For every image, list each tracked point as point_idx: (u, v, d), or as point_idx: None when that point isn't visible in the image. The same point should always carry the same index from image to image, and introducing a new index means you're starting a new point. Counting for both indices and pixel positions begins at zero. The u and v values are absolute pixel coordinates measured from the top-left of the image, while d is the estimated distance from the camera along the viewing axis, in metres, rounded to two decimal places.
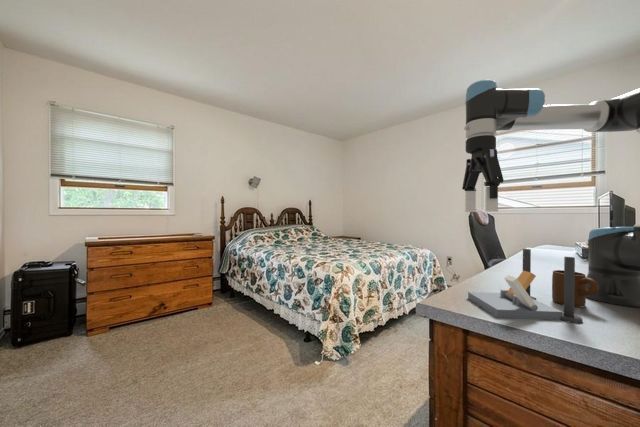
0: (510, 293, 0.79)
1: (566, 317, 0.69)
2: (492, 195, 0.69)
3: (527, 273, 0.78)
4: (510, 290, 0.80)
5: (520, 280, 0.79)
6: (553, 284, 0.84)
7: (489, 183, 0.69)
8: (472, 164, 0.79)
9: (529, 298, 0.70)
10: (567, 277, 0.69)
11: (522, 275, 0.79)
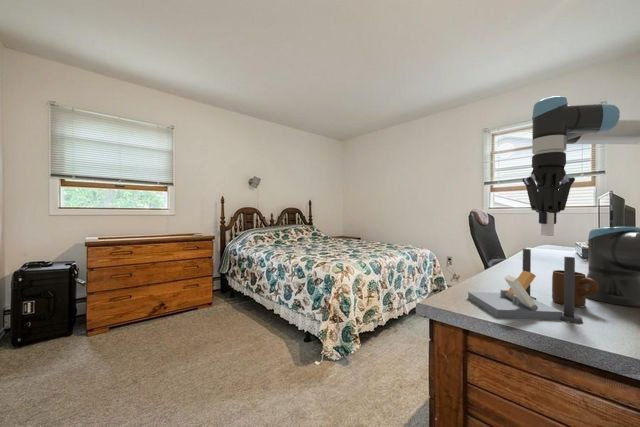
0: (510, 293, 0.79)
1: (566, 317, 0.69)
2: (539, 221, 0.78)
3: (527, 273, 0.78)
4: (510, 290, 0.80)
5: (520, 280, 0.79)
6: (553, 284, 0.84)
7: (538, 211, 0.79)
8: None
9: (529, 298, 0.70)
10: (567, 277, 0.69)
11: (522, 275, 0.79)
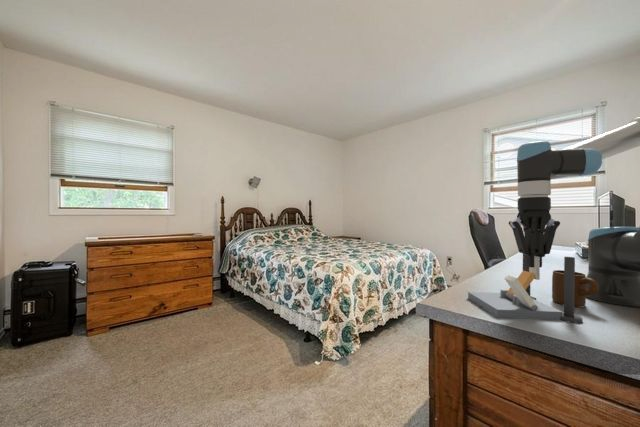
0: (510, 293, 0.79)
1: (566, 317, 0.69)
2: (527, 264, 0.79)
3: (527, 273, 0.78)
4: (510, 290, 0.80)
5: (520, 280, 0.79)
6: (553, 284, 0.84)
7: (525, 254, 0.79)
8: None
9: (529, 298, 0.70)
10: (567, 277, 0.69)
11: (522, 275, 0.79)
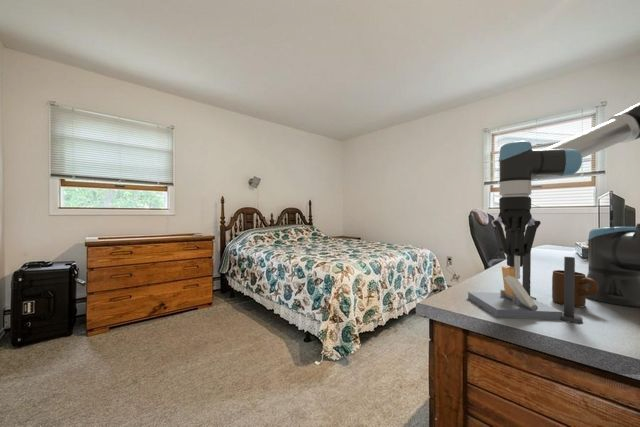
0: (508, 294, 0.79)
1: (566, 317, 0.69)
2: (507, 263, 0.79)
3: (506, 269, 0.79)
4: (506, 291, 0.80)
5: None
6: (553, 284, 0.84)
7: (506, 253, 0.80)
8: None
9: (529, 298, 0.70)
10: (567, 277, 0.69)
11: (504, 272, 0.80)
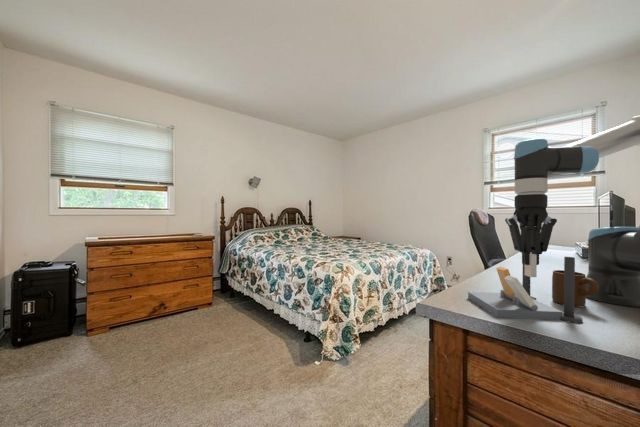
0: (508, 295, 0.79)
1: (566, 317, 0.69)
2: (522, 261, 0.78)
3: (501, 271, 0.79)
4: (505, 291, 0.80)
5: (503, 279, 0.79)
6: (553, 284, 0.84)
7: (521, 251, 0.79)
8: None
9: (529, 298, 0.70)
10: (567, 277, 0.69)
11: (499, 273, 0.80)
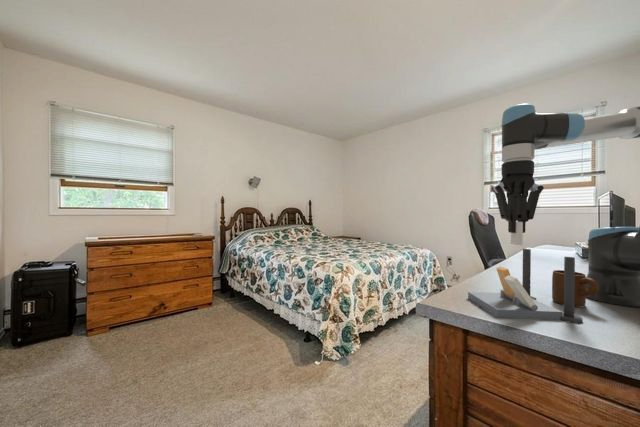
0: (508, 295, 0.79)
1: (566, 317, 0.69)
2: (508, 229, 0.77)
3: (501, 271, 0.79)
4: (505, 291, 0.80)
5: (503, 279, 0.79)
6: (553, 284, 0.84)
7: None
8: None
9: (529, 298, 0.70)
10: (567, 277, 0.69)
11: (499, 273, 0.80)
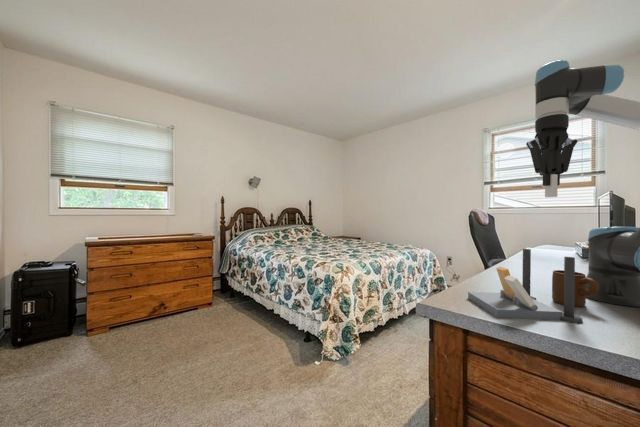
0: (508, 295, 0.79)
1: (566, 317, 0.69)
2: (543, 183, 0.80)
3: (501, 271, 0.79)
4: (505, 291, 0.80)
5: (503, 279, 0.79)
6: (553, 284, 0.84)
7: (541, 174, 0.81)
8: None
9: (529, 298, 0.70)
10: (567, 277, 0.69)
11: (499, 273, 0.80)
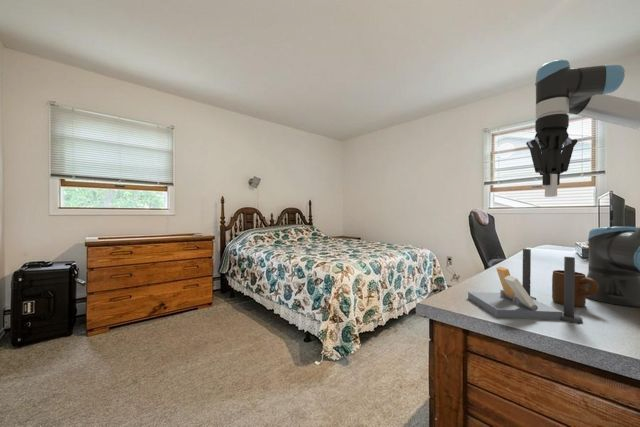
0: (508, 295, 0.79)
1: (566, 317, 0.69)
2: (543, 182, 0.81)
3: (501, 271, 0.79)
4: (505, 291, 0.80)
5: (503, 279, 0.79)
6: (553, 284, 0.84)
7: (541, 174, 0.81)
8: None
9: (529, 298, 0.70)
10: (567, 277, 0.69)
11: (499, 273, 0.80)
